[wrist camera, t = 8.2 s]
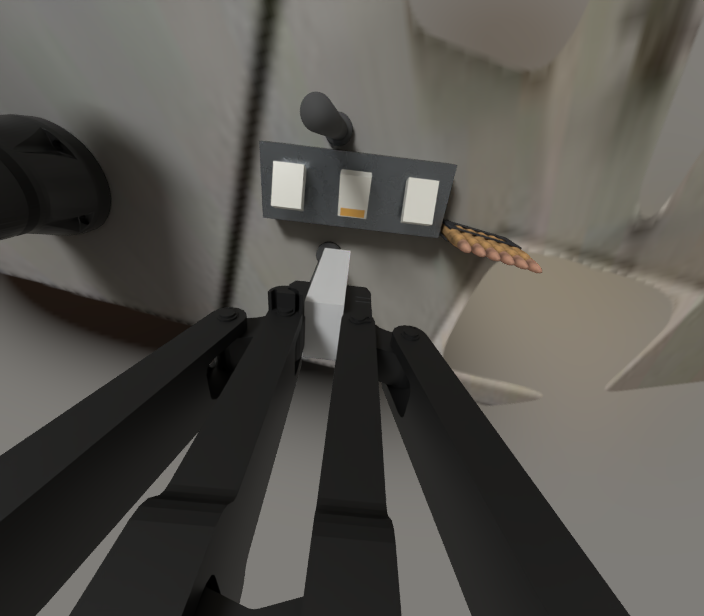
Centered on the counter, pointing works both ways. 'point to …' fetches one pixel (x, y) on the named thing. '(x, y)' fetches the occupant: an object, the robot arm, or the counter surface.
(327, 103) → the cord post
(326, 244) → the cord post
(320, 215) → the breaker panel
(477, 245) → the ammunition clip
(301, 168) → the paddle left
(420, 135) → the counter surface
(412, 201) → the paddle right
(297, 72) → the counter surface
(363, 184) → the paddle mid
